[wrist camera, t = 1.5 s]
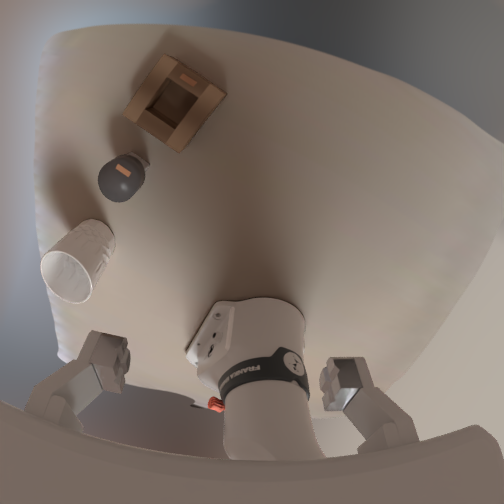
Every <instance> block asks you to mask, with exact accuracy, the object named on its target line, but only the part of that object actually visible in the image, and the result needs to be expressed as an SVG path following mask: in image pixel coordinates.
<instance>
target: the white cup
mask: <svg viewBox="0 0 504 504" xmlns="http://www.w3.org/2000/svg"><path fill="white" fill-rule="evenodd" d="M114 248H115V240H114V235H113V234H112V232H111V230H110V229H109V227H108V226H106V225H105V224H104V223H102V222H101V221H99V220H95V219H88V220H85V221H83V222H81V223H80V224H79V225H78V226H77V227H76V228H74V229H73V230H71V231H70V232H69V233H68V234H66V235H65V236H64V237H63V238H62V239H61V240H60V241H58V242H57V243H56V244H55V245H54V246H53V247H52V248H51V249H50V250H49V251H48V252H47V253H46V254H45V255H44V256H43V257H42V260H41V264H40V269H41V274H42V277H43V279H44V281H45V283H46V285H47V286H48V288H49V289H50V290H51V291H52V292H53V293H54V294H55V295H56V296H58V297H59V298H61V299H62V300H65V301H67V302H70V303H82V302H85V301H86V300H87V299H88V298H89V297H90V295H91V294H92V292H93V290H94V288H95V286H96V284H97V282H98V280H99V279H100V277H101V275H102V273H103V271H104V269H105V267H106V266H107V264H108V261H109V259H110V257H111V256H112V254H113V251H114Z"/></svg>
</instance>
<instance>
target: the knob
mask: <svg viewBox="0 0 504 504" xmlns="http://www.w3.org/2000/svg"><path fill="white" fill-rule="evenodd" d="M149 165H150V164H149V163H147V162H146V161H144V160H143V159H142V158H140V157H139V156H137V155H136V154H134V153H133V152H130V153H128V154H126V155H120V156H118V157H116V158H115V159H113V160H111V161H110V162H108V163H107V164H105V165H104V166H103V167H102V169H101V170H100V172H99V176H98V184H99V188H100V190H101V192H102V194H103V195H104V196H105V197H106V198H107V199H109V200H111V201H114V202H124V201H127V200H129V199H130V198H131V197H132V196H133V195H134V194H135V193H136V192H137V191H138V190H139V189H140V188H141V186H142V185H143V183H144V180H145V172H146V170H147V169H148V167H149Z"/></svg>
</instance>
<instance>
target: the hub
mask: <svg viewBox="0 0 504 504" xmlns="http://www.w3.org/2000/svg"><path fill="white" fill-rule="evenodd" d="M226 95H227V93H225V92H224V91H223V90H221V89H220V88H218V87H217V86H215V85H214V84H213V83H211V82H210V81H208V80H207V79H205V78H204V77H202V76H201V75H199V74H198V73H196V72H195V71H193V70H192V69H190V68H189V67H187V66H186V65H184V64H183V63H181V62H180V61H178V60H176V59H175V58H173V57H171V56H168V55H166V54H163V56H162V57H161V58H160V60H159V61H158V62H157V64H156V65H155V66H154V68H153V69H152V71H151V72H150V73H149V75H148V76H147V78H146V79H145V80H144V82H143V83H142V85H141V86H140V88H139V89H138V91H137V92H136V94H135V95H134V97H133V98H132V100H131V101H130V103H129V104H128V106H127V108H126V109H125V111H124V112H123V114H122V115H123V116H125V117H126V118H128V119H129V120H131V121H132V122H134V123H135V124H137V125H138V126H140V127H141V128H143V129H144V130H146V131H147V132H149V133H150V134H151V135H153V136H154V137H156V138H157V139H159V140H160V141H162V142H163V143H165V144H166V145H167V146H169V147H170V148H172V149H173V150H175V151H176V152H178V153H180V152H181V151H182V150H183V149H184V148H185V147H186V146H187V145H188V144H189V142H190V141H191V140H192V138H193V137H194V135H195V134H196V133H197V132H198V130H199V129H200V128H201V126H202V125H203V124H204V122H205V121H206V120H207V119H208V117H209V116H210V115H211V113H212V112H213V111H214V110H215V108H216V107H217V106H218V105H219V103H220V102H221V101H222V100H223V99H224V97H225V96H226Z"/></svg>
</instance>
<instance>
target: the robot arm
mask: <svg viewBox="0 0 504 504" xmlns="http://www.w3.org/2000/svg"><path fill="white" fill-rule="evenodd" d="M217 313H219V314H217ZM304 332H305V321H304V318H303V316H302V314H301V313H300V311H299V310H298V309H297V308H295V307H294V306H293V305H291V304H289V303H287V302H285V301H282V300H279V299H274V298H253V299H248V300H244V301H239V302H232V301H219V302H216V303H215V304H214V306H213V307H212V309H211V311H210V312H209V314H208V316H207V317H206V319H205V321H204V322H203V324H202V326H201V327H200V329H199V331H198V332H197V334H196V336H195V338H194V339H193V341H192V343H191V344H190V346H189V348H188V349H187V351H186V358H187V359H188V361H189V362H190V363H191V364H192V365H193V366H195V367H196V368H197V376H198V378H199V380H200V381H201V382H202V383H203V384H204V385H206V386H207V387H209V388H210V389H212V390H214V391H216V392H218V393H220V396H221V399H222V400H219V399H218V398H216V397H214V396H213V397H211V398H210V400H209V402H208V408H209V409H212V410H216V411H217V412H221V411H222V410H225V417H224V442H223V444H224V448H225V451H226V453H227V455H228V457H229V458H230V459H231V460H229V459H214V458H203V457H194V456H186V455H179V454H172V453H166V452H159V451H154V450H149V449H143V448H139V447H134V446H129V445H125V444H120V443H116V442H112V441H109V440H105V439H101V438H98V437H94V436H91V435H87V434H84V433H83V429H84V427H83V425H82V424H81V422H80V421H79V420H78V418H77V417H76V415H77V414H79V413H80V412H81V411H82V410H83V409H84V408H85V407H86V406H87V405H88V404H89V403H90V402H91V401H92V400H93V399H94V398H96V397H97V396H98V395H99V394H100V393H101V392H102V391H103V390H106V391H111V392H116V393H122V390H123V387H124V384H125V378H124V374H126V373H127V372H128V370H129V366H130V351H129V350H128V349H127V348H126V347H127V344H128V342H127V338H125V337H120V336H115V335H111V334H107V333H102V332H98V331H93V330H92V331H91V332H90V333H89V334H88V336H87V339H86V341H85V343H84V345H83V347H82V349H81V352H80V354H79V356H78V358H77V360H72V361H71V362H69V363H68V364H66V365H65V366H63V367H62V368H60V369H59V370H58V371H56V372H55V373H53V374H52V375H50V376H49V377H47V378H46V379H44V380H43V381H42V382H40V383H39V384H37V385H36V386H34V388H33V391H32V393H31V395H30V398H29V400H28V402H27V405H26V407H25V409H24V411H23V410H21V409H18V408H16V407H14V406H12V405H10V404H8V403H6V402H4V401H2V400H0V504H504V459H503V456H502V452H501V449H500V447H499V444H498V442H497V440H496V439H495V438H494V437H493V436H492V435H491V434H489V433H488V432H487V431H486V430H485V429H483V428H482V427H480V426H479V425H471V426H468V427H466V428H463V429H460V430H457V431H454V432H451V433H448V434H445V435H441V436H438V437H434V438H431V439H428V440H424V441H419V438H418V435H417V432H416V429H415V426H414V423H413V420H412V418H411V417H410V416H409V415H408V414H407V413H405V412H404V411H403V410H402V409H401V408H400V407H399V406H398V405H397V404H396V403H394V402H393V401H392V400H391V399H390V398H389V397H388V396H387V395H386V394H384V393H383V392H382V391H381V390H380V389H379V388H378V387H374V384H373V381H372V378H371V375H370V372H369V369H368V367H367V364H366V361H365V359H364V358H363V357H330V358H329V359H328V360H327V362H326V364H327V367H325V368H323V370H322V372H321V374H320V379H319V382H320V389H321V390H322V391H323V392H324V393H325V394H324V396H323V398H322V400H323V405H324V410H325V411H343V412H344V414H345V415H346V416H347V417H348V419H349V420H350V421H351V422H352V423H353V425H354V426H355V427H356V428H357V429H358V431H359V432H360V433H361V434H362V435H363V437H364V438H365V439H366V441H365V442H364V443H363V444H361V445H360V446H359V447H358V454H355V455H348V456H339V457H330V458H327V457H326V456H325V454H324V453H323V451H322V450H321V448H320V446H319V444H318V442H317V439H316V436H315V432H314V429H313V425H312V421H311V416H310V411H309V405H308V400H309V397H310V392H309V384H308V378H307V373H306V370H305V366H304V355H303V354H304Z"/></svg>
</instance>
